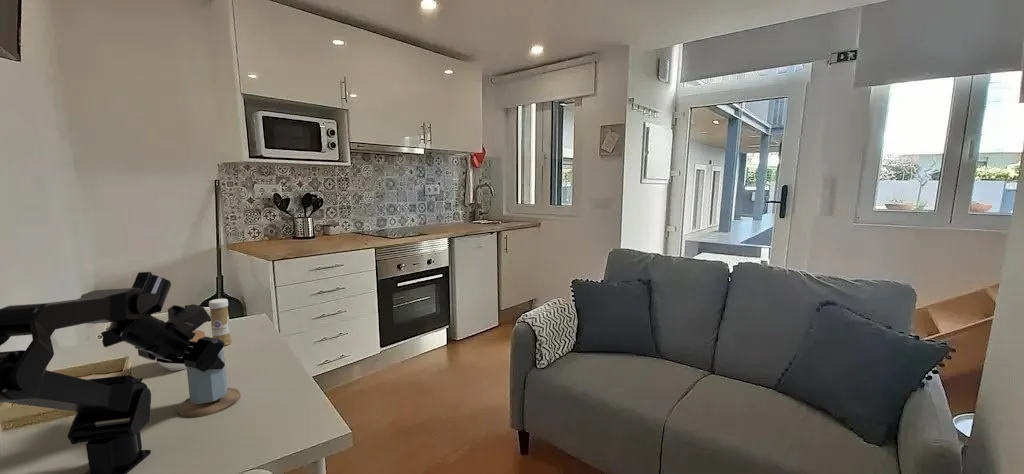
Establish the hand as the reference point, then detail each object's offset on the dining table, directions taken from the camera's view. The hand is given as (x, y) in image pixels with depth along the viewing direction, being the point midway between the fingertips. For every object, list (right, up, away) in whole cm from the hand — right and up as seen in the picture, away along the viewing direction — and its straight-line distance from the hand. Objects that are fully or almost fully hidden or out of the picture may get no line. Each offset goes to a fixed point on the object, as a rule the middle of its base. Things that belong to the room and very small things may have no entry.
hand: (212, 364), depth 91 cm
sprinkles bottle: (-20, -4, +32) cm, 38 cm away
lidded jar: (-21, -6, +18) cm, 28 cm away
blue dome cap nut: (0, -7, 0) cm, 7 cm away
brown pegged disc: (0, -8, 0) cm, 8 cm away
